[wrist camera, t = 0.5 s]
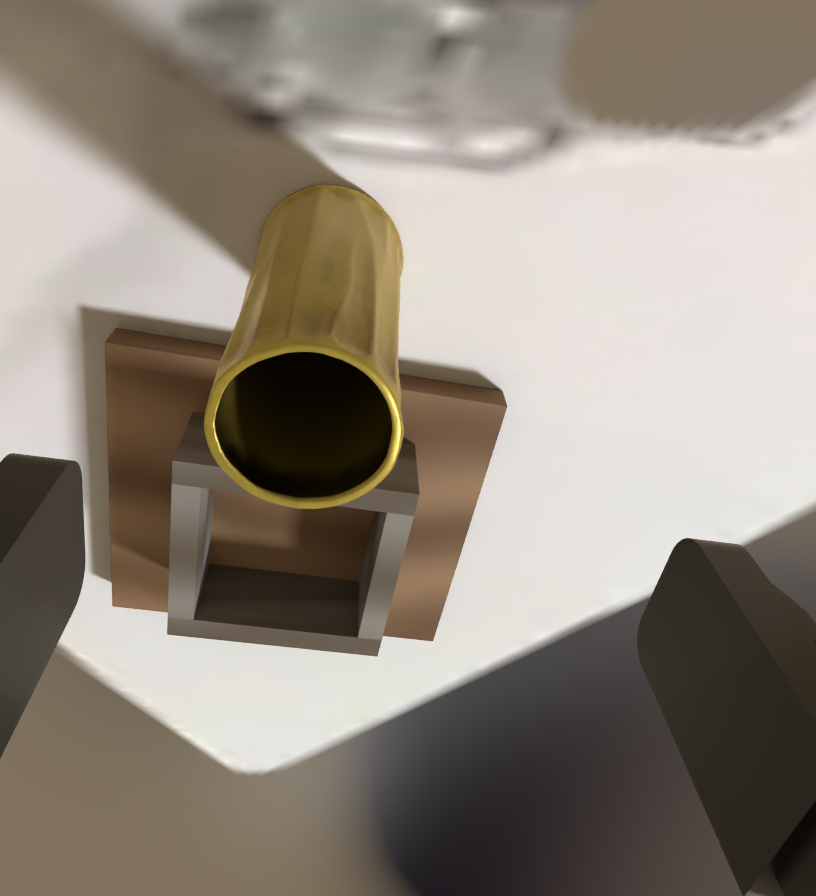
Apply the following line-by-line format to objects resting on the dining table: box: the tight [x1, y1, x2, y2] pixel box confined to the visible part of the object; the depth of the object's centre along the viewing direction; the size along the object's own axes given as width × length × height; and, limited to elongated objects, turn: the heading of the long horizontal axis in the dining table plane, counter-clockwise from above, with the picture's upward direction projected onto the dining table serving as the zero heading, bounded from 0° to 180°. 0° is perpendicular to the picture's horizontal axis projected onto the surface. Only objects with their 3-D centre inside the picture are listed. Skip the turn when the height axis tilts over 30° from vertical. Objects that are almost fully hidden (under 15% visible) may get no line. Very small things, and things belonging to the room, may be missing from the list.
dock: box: [105, 328, 507, 656], centre depth 35 cm, size 16×18×6 cm
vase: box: [204, 184, 404, 509], centre depth 25 cm, size 6×6×14 cm
